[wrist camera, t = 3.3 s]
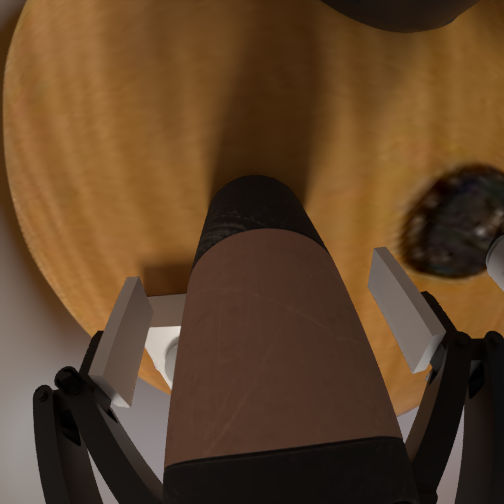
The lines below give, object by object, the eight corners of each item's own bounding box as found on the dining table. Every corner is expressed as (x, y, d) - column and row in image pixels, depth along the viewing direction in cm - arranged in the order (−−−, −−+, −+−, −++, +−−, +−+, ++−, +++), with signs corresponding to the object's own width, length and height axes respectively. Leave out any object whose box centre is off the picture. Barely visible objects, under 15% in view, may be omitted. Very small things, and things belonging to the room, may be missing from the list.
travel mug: (224, 271, 24) (220, 537, 7) (188, 190, 20) (95, 528, 3) (312, 246, 23) (400, 509, 6) (291, 158, 19) (467, 497, 2)
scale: (139, 297, 25) (125, 335, 21) (284, 283, 25) (293, 322, 21) (177, 373, 32) (172, 406, 28) (287, 365, 32) (292, 399, 28)
